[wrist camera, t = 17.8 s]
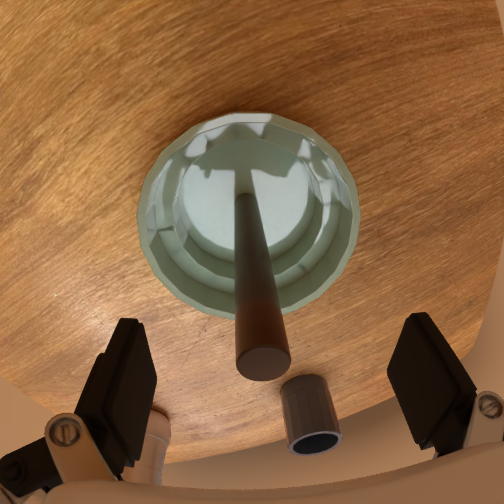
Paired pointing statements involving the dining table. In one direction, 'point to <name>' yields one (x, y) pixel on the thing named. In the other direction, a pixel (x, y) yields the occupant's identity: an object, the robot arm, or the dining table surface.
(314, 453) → the utensil pot
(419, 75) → the dining table surface
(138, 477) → the plastic bottle
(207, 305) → the bowl
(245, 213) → the stirring stick
